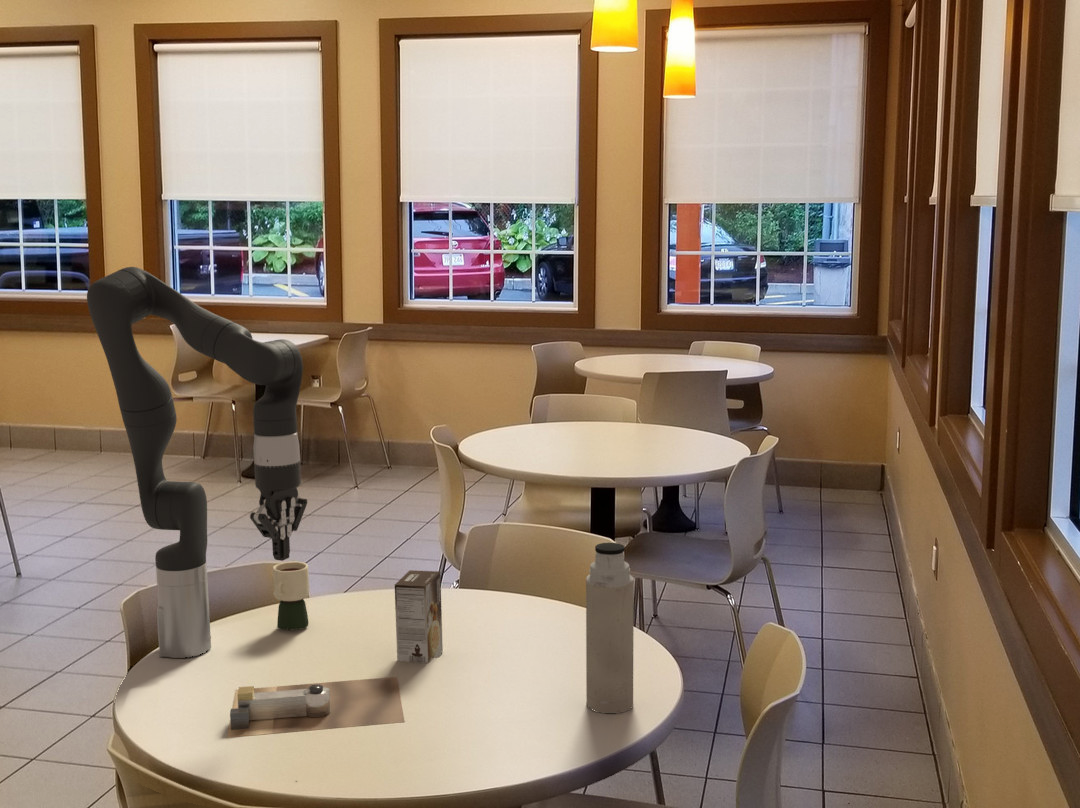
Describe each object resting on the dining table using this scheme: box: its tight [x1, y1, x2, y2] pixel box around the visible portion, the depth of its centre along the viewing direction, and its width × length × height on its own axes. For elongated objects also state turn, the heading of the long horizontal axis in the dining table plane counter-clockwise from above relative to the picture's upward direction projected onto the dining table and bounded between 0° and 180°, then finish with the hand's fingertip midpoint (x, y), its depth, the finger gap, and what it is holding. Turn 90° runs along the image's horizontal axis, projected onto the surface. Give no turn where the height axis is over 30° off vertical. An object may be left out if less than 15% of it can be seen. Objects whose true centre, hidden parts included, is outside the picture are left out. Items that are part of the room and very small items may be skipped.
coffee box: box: [394, 569, 444, 664], centre depth 215 cm, size 9×6×16 cm
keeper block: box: [229, 707, 250, 730], centre depth 185 cm, size 3×2×3 cm, turn 101°
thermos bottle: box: [585, 542, 635, 714], centre depth 194 cm, size 8×8×28 cm
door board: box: [226, 676, 405, 739], centre depth 194 cm, size 28×19×1 cm
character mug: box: [272, 561, 310, 631], centre depth 233 cm, size 11×7×13 cm, turn 162°
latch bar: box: [237, 684, 331, 721], centre depth 189 cm, size 15×4×5 cm, turn 100°
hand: (281, 558), depth 196 cm, fingers closed
